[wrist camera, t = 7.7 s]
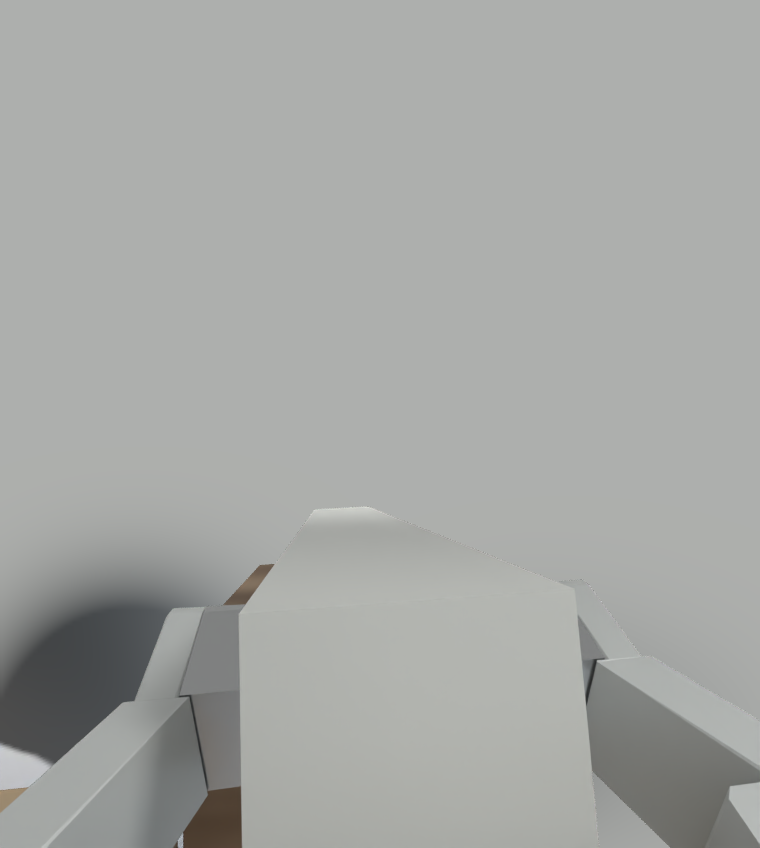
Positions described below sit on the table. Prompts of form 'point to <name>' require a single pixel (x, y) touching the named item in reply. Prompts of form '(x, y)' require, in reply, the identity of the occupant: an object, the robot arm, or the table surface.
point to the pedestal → (221, 810)
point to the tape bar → (410, 696)
